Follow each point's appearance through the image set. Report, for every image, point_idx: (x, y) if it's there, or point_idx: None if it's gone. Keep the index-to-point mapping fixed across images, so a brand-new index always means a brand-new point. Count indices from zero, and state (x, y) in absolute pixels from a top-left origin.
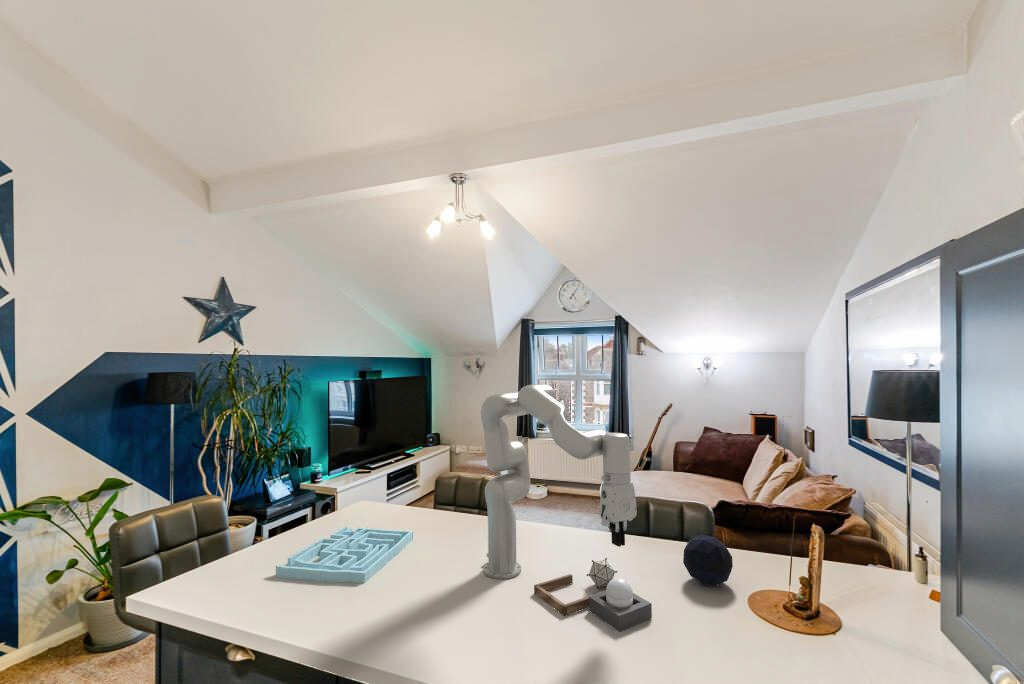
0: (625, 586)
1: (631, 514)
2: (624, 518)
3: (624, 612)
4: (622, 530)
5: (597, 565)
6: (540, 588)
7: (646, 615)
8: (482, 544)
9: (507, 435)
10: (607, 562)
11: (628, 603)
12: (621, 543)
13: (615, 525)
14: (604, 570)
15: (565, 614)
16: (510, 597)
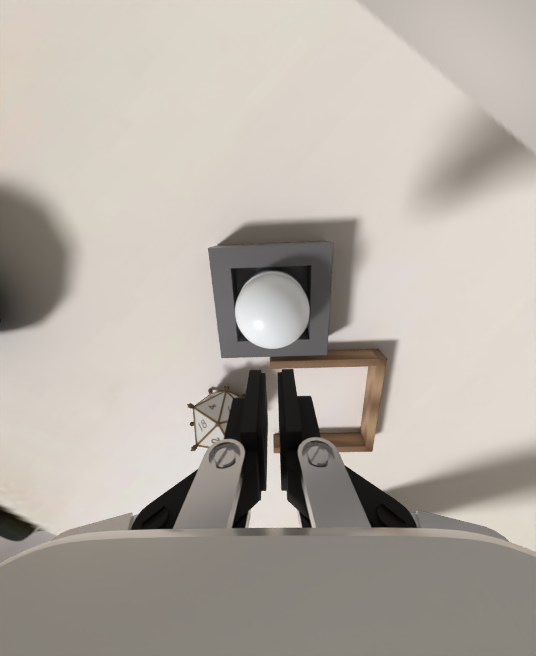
0: (272, 292)
1: (70, 632)
2: (280, 571)
3: (307, 249)
4: (247, 447)
5: None
6: (370, 436)
7: (233, 245)
8: None
9: None
10: (196, 437)
11: (273, 271)
12: (265, 385)
13: (359, 502)
14: (225, 415)
15: (376, 350)
16: (412, 446)
